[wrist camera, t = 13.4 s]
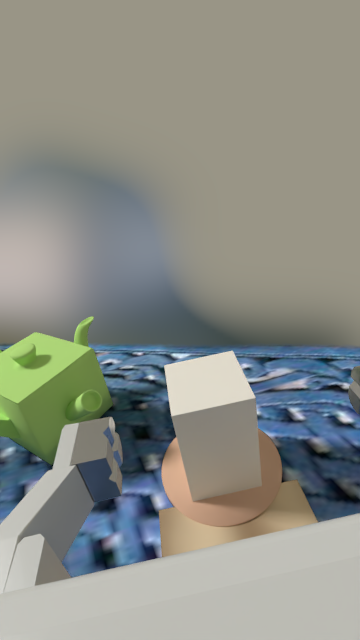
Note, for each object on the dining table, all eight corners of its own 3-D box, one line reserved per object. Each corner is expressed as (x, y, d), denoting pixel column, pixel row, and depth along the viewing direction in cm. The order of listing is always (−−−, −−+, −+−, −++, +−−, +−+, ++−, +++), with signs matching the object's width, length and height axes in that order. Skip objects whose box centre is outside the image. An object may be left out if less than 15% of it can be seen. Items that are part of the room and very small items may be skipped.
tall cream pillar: (192, 501, 27) (171, 416, 22) (183, 444, 32) (164, 365, 27) (261, 485, 27) (255, 397, 22) (241, 431, 32) (232, 350, 28)
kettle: (12, 401, 44) (-26, 332, 39) (113, 372, 46) (90, 303, 41) (-22, 502, 31) (-87, 419, 26) (121, 457, 33) (89, 371, 28)
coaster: (141, 466, 32) (139, 462, 31) (222, 406, 37) (221, 402, 36) (217, 562, 23) (216, 558, 23) (308, 468, 28) (308, 464, 28)
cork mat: (175, 742, 17) (173, 740, 16) (159, 513, 27) (158, 510, 27) (396, 687, 17) (398, 685, 17) (296, 482, 28) (296, 479, 27)
